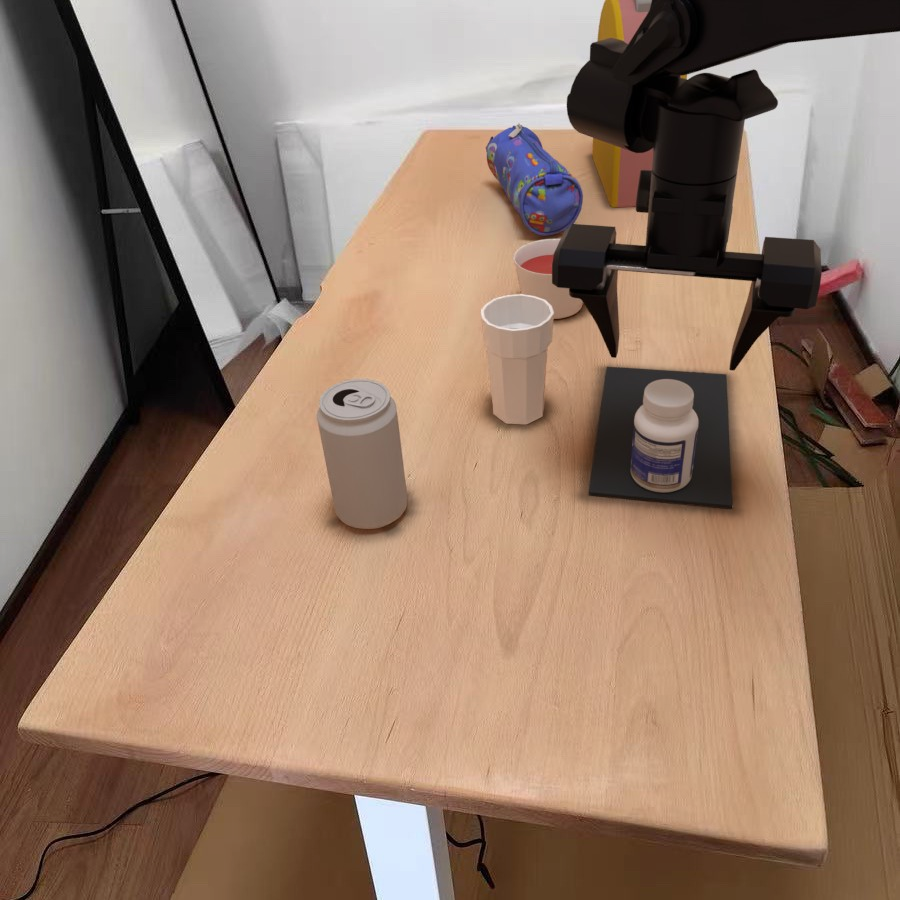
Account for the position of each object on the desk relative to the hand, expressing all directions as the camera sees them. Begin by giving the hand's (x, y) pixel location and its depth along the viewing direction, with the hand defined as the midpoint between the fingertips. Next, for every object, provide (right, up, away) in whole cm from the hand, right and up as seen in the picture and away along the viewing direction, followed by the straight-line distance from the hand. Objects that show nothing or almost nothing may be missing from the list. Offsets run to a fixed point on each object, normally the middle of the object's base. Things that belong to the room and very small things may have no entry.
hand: (672, 361), depth 69 cm
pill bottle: (+1, -9, +7) cm, 12 cm away
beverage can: (-25, -13, +6) cm, 28 cm away
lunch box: (+9, +34, +61) cm, 71 cm away
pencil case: (-6, +27, +55) cm, 61 cm away
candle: (-6, +10, +32) cm, 34 cm away
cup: (-11, -3, +17) cm, 20 cm away
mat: (+2, -5, +12) cm, 14 cm away
